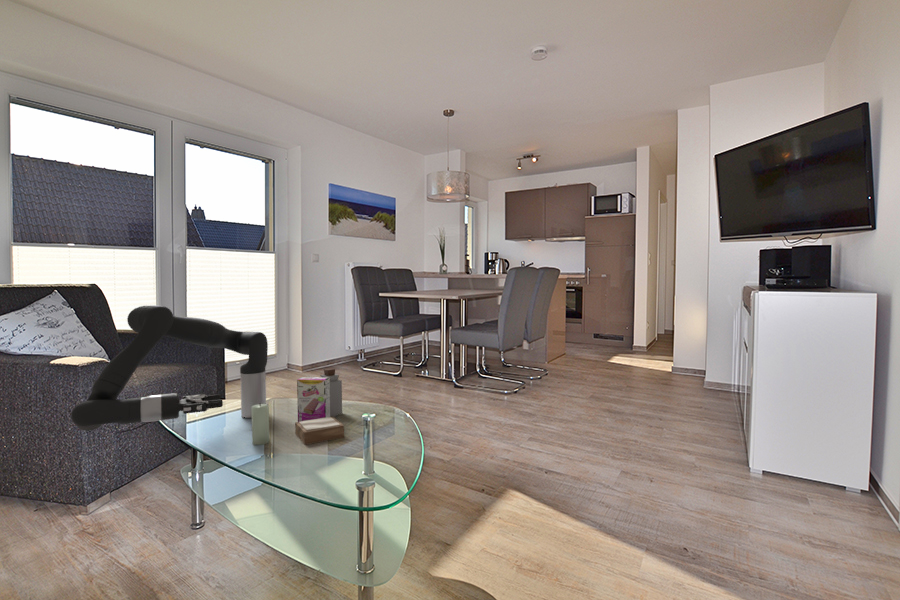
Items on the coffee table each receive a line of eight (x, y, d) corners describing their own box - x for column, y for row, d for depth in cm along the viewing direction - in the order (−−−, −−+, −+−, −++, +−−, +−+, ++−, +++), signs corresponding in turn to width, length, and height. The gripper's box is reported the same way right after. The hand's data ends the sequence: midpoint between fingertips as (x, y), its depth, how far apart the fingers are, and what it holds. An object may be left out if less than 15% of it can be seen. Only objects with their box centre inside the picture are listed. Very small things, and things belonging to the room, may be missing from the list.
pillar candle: (251, 441, 149) (250, 402, 149) (268, 438, 152) (267, 400, 152) (253, 446, 145) (252, 405, 145) (270, 443, 148) (269, 403, 147)
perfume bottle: (334, 410, 186) (333, 367, 185) (342, 414, 181) (341, 369, 180) (318, 414, 181) (317, 369, 180) (326, 417, 176) (325, 371, 175)
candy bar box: (297, 422, 170) (296, 379, 169) (302, 419, 174) (301, 376, 174) (326, 423, 168) (325, 379, 168) (330, 419, 173) (330, 376, 173)
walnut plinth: (295, 433, 157) (295, 421, 157) (332, 427, 163) (332, 415, 163) (304, 444, 146) (304, 431, 145) (344, 437, 152) (343, 424, 152)
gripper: (159, 399, 128) (223, 392, 136) (160, 390, 140) (219, 384, 148) (159, 426, 128) (223, 417, 136) (160, 414, 140) (219, 407, 148)
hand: (221, 400), depth 142 cm, fingers open, 8 cm apart
